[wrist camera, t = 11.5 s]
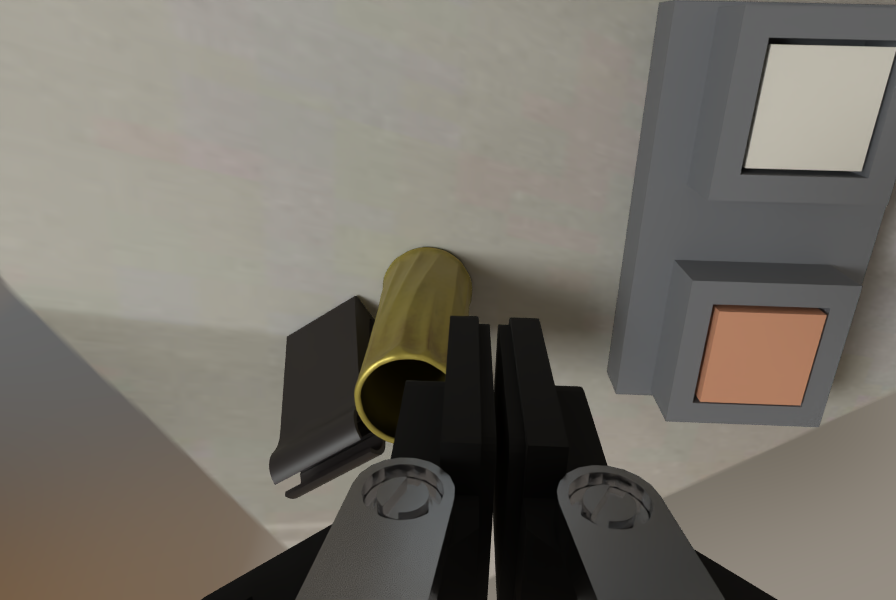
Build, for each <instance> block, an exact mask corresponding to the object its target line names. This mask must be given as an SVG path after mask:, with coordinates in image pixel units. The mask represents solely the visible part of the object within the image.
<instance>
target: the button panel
mask: <svg viewBox="0 0 896 600" xmlns="http://www.w3.org/2000/svg"><path fill="white" fill-rule="evenodd" d="M768 44H792V45H834V46H872V47H896V5H875V4H829V3H784V2H738V1H693V0H673V1H667V2H661V3H659V8H658V15H657V22H656V29H655V36H654V43H653V50H652V57H651V64H650V72H649V79H648V86H647V93H646V100H645V107H644V114H643V121H642V128H641V135H640V142H639V149H638V156H637V163H636V170H635V177H634V185H633V192H632V199H631V206H630V213H629V220H628V227H627V234H626V241H625V248H624V255H623V262H622V269H621V276H620V283H619V290H618V298H617V305H616V312H615V319H614V326H613V333H612V340H611V347H610V354H609V361H608V368H607V373H608V375H609V378H610V380H611V383H612V385H613V388H614V390H615V393H616V394H632V395H653V397H654V399H655V401H656V403H657V405H658V407H659V409H660V411H661V413H662V415H663V417H664V419H665V421H672V422H698V423H724V424H751V425H777V426H803V427H819V425H820V422H821V419H822V416H823V413H824V409H825V406H826V403H827V400H828V396H829V393H830V390H831V387H832V383H833V380H834V377H835V374H836V371H837V367H838V364H839V361H840V358H841V354H842V351H843V348H844V345H845V342H846V338H847V335H848V332H849V329H850V325H851V322H852V319H853V316H854V313H855V309H856V306H857V303H858V300H859V296H860V293H861V290H862V287H863V286H862V283H863V279H864V276H865V273H866V270H867V266H868V263H869V260H870V257H871V253H872V250H873V247H874V244H875V241H876V237H877V234H878V231H879V228H880V224H881V221H882V218H883V215H884V211H885V208H886V205H887V206H888V203H889V200H890V196H891V193H892V190H893V187H894V184H895V180H896V52H895V56H894V59H893V63H892V66H891V70H890V73H889V77H888V80H887V84H886V87H885V91H884V94H883V98H882V101H881V105H880V108H879V112H878V115H877V119H876V122H875V126H874V129H873V133H872V136H871V140H870V143H869V147H868V150H867V154H866V157H865V161H864V164H863V168H862V171H829V170H794V169H758V168H744V167H742V164H743V159H744V154H745V150H746V145H747V140H748V135H749V131H750V126H751V121H752V116H753V111H754V107H755V102H756V97H757V92H758V88H759V83H760V78H761V73H762V68H763V64H764V59H765V54H766V49H767V45H768ZM713 304H719V305H749V306H779V307H808V308H818V309H820V310H821V311H822V312H823V313H825V314H826V315H827V316H826V319H825V323H824V326H823V330H822V333H821V337H820V340H819V344H818V347H817V350H816V354H815V357H814V361H813V364H812V368H811V371H810V374H809V378H808V381H807V385H806V388H805V392H804V395H803V398H802V402H801V405H773V404H746V403H719V402H700V401H699V399H698V398H697V396H696V394H695V389H696V384H697V379H698V374H699V369H700V365H701V360H702V355H703V350H704V346H705V341H706V336H707V331H708V326H709V322H710V317H711V312H712V307H713Z"/></svg>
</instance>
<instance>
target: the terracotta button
mask: <svg viewBox="0 0 896 600" xmlns="http://www.w3.org/2000/svg"><path fill="white" fill-rule="evenodd" d="M826 316H827V315H826V314H825V313H823V312H822V311H821V310H820V309H818V308H808V307H779V306H749V305H719V304H713V307H712V312H711V317H710V322H709V326H708V331H707V336H706V341H705V346H704V350H703V355H702V360H701V365H700V369H699V374H698V379H697V384H696V389H695V394H696V396H697V398H698V399H699V401H700V402H719V403H746V404H773V405H801V402H802V398H803V395H804V392H805V388H806V385H807V381H808V378H809V374H810V371H811V368H812V364H813V361H814V357H815V354H816V350H817V347H818V344H819V340H820V337H821V333H822V330H823V326H824V323H825V319H826Z"/></svg>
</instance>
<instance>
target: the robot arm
mask: <svg viewBox="0 0 896 600" xmlns="http://www.w3.org/2000/svg"><path fill="white" fill-rule="evenodd" d="M492 518H493V524H494V546H495V569H496V591H497V600H777V599H775V598H774V597H772V596H770V595H769V594H767V593H765V592H764V591H762V590H760V589H759V588H757V587H756V586H754V585H752V584H751V583H749V582H747V581H746V580H744V579H742V578H741V577H739V576H737V575H736V574H734V573H732V572H731V571H729V570H727V569H726V568H724V567H722V566H721V565H719V564H718V563H716V562H714V561H713V560H711V559H709V558H708V557H706V556H704V555H703V554H701V553H699V552H698V551H696V550H694V549H693V547H692V546H691V544H690V542H689V541H688V539H687V538H686V536H685V534H684V533H683V531H682V530H681V528H680V527H679V525H678V523H677V522H676V520H675V519H674V517H673V515H672V514H671V512H670V510H669V509H668V507H667V505H666V504H665V502H664V501H663V499H662V497H661V496H660V495H659V493H658V492H657V491H656V490H655V489H654V488H653V486H652V485H651V484H649V483H648V482H646V481H645V480H643V479H642V478H641V477H639V476H637V475H635V474H633V473H631V472H628V471H626V470H624V469H619V468H615V467H611V466H607V463H606V459H605V456H604V453H603V450H602V447H601V443H600V440H599V437H598V434H597V431H596V428H595V424H594V421H593V418H592V415H591V412H590V408H589V405H588V402H587V399H586V396H585V393H584V390H583V388H582V387H578V386H555V384H554V380H553V376H552V372H551V367H550V363H549V359H548V355H547V350H546V346H545V342H544V338H543V333H542V329H541V325H540V321H539V319H537V318H510V319H509V325H498V333H497V350H496V367H495V384H494V388H493V372H492V356H491V340H490V325H489V324H479V318H478V316H450V324H449V337H448V350H447V363H446V377H445V382H442V381H415V380H406V382H405V387H404V392H403V397H402V403H401V408H400V413H399V418H398V424H397V429H396V434H395V439H394V445H393V450H392V455H391V459H388V460H384V461H381V462H379V463H376V464H373V465H371V466H370V467H368V468H367V469H365V470H364V471H363V472H361V473H360V474H359V475H358V477H357V478H356V479H355V481H354V482H353V484H352V486H351V488H350V490H349V492H348V494H347V496H346V498H345V500H344V502H343V504H342V506H341V508H340V510H339V512H338V514H337V516H336V518H335V520H334V522H333V524H332V525H330V526H328V527H326V528H325V529H323V530H321V531H319V532H318V533H316V534H314V535H312V536H311V537H309V538H307V539H305V540H304V541H302V542H300V543H298V544H297V545H295V546H293V547H291V548H290V549H288V550H286V551H284V552H283V553H281V554H279V555H277V556H276V557H274V558H272V559H270V560H269V561H267V562H265V563H263V564H262V565H260V566H258V567H256V568H255V569H253V570H251V571H249V572H248V573H246V574H244V575H242V576H241V577H239V578H237V579H235V580H234V581H232V582H230V583H228V584H227V585H225V586H223V587H221V588H220V589H218V590H216V591H214V592H213V593H211V594H209V595H207V596H206V597H204V598H203V599H202V600H487V595H488V580H489V564H490V549H491V533H492Z"/></svg>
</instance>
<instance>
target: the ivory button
mask: <svg viewBox="0 0 896 600" xmlns="http://www.w3.org/2000/svg"><path fill="white" fill-rule="evenodd" d="M895 52H896V47H872V46H834V45H792V44H768V45H767V49H766V54H765V59H764V64H763V68H762V73H761V78H760V83H759V88H758V92H757V97H756V102H755V107H754V111H753V116H752V121H751V126H750V131H749V135H748V140H747V145H746V150H745V154H744V159H743V164H742V167H744V168H758V169H794V170H829V171H862V168H863V164H864V161H865V157H866V154H867V150H868V147H869V143H870V140H871V136H872V133H873V129H874V126H875V122H876V119H877V115H878V112H879V108H880V105H881V101H882V98H883V94H884V91H885V87H886V84H887V80H888V77H889V73H890V70H891V66H892V63H893V59H894V56H895Z"/></svg>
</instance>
